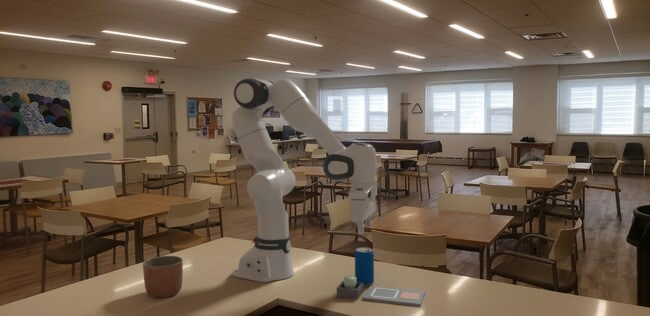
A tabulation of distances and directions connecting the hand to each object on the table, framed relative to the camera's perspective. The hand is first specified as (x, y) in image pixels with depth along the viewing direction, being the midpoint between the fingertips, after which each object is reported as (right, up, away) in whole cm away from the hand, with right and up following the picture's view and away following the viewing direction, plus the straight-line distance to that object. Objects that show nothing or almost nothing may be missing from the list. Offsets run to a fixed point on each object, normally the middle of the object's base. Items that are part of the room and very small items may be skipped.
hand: (364, 230), depth 162 cm
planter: (-67, -20, -5) cm, 70 cm away
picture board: (+9, -20, -11) cm, 24 cm away
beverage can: (0, -19, +2) cm, 19 cm away
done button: (-5, -18, -8) cm, 20 cm away
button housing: (-5, -20, -8) cm, 22 cm away
